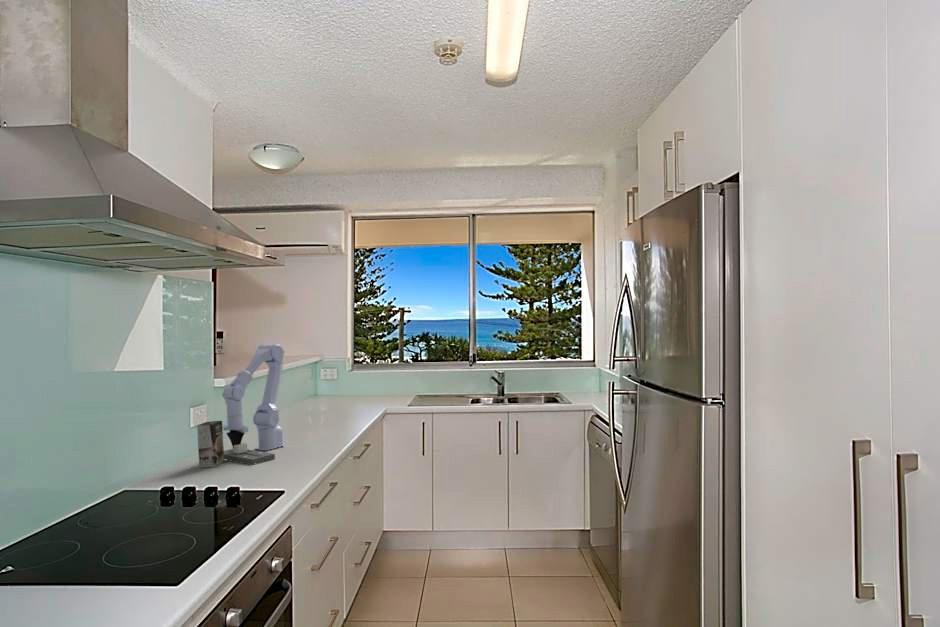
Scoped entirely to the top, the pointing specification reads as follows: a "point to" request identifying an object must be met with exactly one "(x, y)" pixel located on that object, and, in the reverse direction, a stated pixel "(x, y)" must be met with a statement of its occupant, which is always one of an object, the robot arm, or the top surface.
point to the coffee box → (210, 444)
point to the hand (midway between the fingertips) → (236, 449)
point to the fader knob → (240, 448)
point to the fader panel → (248, 456)
